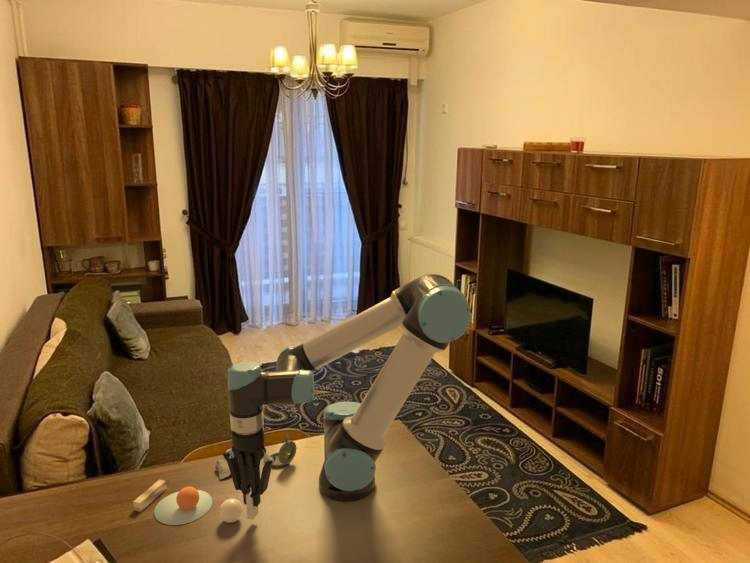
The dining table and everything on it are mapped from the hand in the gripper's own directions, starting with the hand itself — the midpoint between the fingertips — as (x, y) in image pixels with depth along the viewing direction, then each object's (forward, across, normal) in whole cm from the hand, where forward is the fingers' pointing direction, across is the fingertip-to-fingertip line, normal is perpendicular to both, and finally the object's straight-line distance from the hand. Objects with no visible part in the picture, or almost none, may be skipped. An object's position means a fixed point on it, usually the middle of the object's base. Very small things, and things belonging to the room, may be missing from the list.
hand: (252, 515), depth 135 cm
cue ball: (-1, -6, -1) cm, 6 cm away
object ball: (-1, -18, 0) cm, 19 cm away
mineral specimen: (+3, -17, +19) cm, 26 cm away
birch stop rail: (+2, -30, 0) cm, 30 cm away
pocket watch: (+2, -5, +26) cm, 26 cm away
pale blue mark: (+2, -20, 0) cm, 20 cm away
